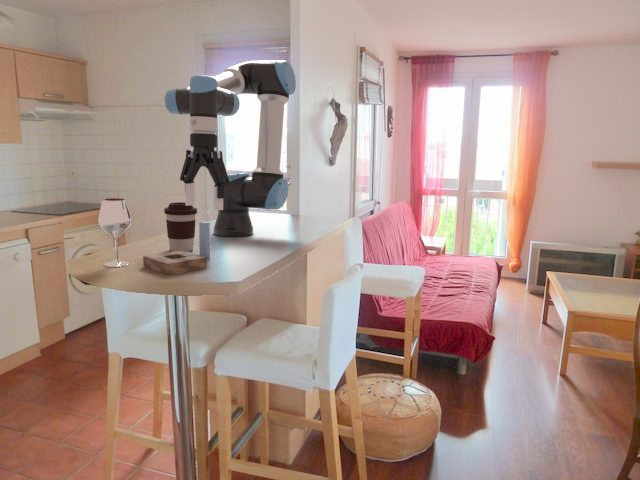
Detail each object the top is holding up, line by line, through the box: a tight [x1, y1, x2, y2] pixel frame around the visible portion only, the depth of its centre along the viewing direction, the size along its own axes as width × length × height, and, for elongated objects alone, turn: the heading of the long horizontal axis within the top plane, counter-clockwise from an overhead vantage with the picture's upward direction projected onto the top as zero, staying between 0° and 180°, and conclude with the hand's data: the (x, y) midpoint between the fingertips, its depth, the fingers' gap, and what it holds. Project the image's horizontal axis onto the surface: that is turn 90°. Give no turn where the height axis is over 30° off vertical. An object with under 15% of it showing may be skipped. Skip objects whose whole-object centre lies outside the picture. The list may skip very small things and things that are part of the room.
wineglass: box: [98, 197, 132, 268], centre depth 131 cm, size 8×8×18 cm
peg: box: [198, 221, 211, 261], centre depth 142 cm, size 3×3×11 cm
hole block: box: [142, 250, 208, 276], centre depth 132 cm, size 12×12×3 cm
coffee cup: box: [163, 201, 198, 252], centre depth 153 cm, size 10×10×15 cm
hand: (203, 207), depth 140 cm, fingers open, 13 cm apart
